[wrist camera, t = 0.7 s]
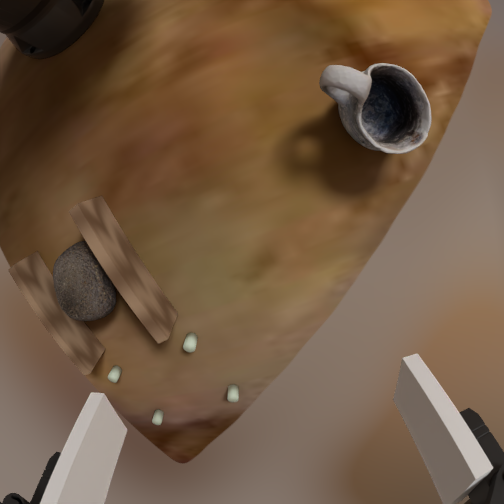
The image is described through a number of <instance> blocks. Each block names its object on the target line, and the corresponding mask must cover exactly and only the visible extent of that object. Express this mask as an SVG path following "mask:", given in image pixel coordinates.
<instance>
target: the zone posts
mask: <svg viewBox="0 0 504 504" xmlns="http://www.w3.org/2000/svg"><path fill="white" fill-rule="evenodd" d="M197 339H198V337H197V335H196V334H195V333H188V334H187V335H186V338H185V342H184V345H183V348H184V350H185V351H187V352H193V351H194V350H195V348H196V343H197ZM121 372H122V369H121V368H120V367H119V366H113V368H112V370H111V372H110V373H109V375H108V379H109V380H110V381H111V382H114V383H116V382H117V380H118V378H119V376H120V374H121ZM238 391H239V388H238V386H237V385H234V384H232V385H229V386H228V397H227V399H228V401H230V402H237V401H238ZM163 415H164V412H163V411H161V410H155V413H154V416H153V419H152V422H153V423H154V424H155V425H161V422H162V419H163Z"/></svg>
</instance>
